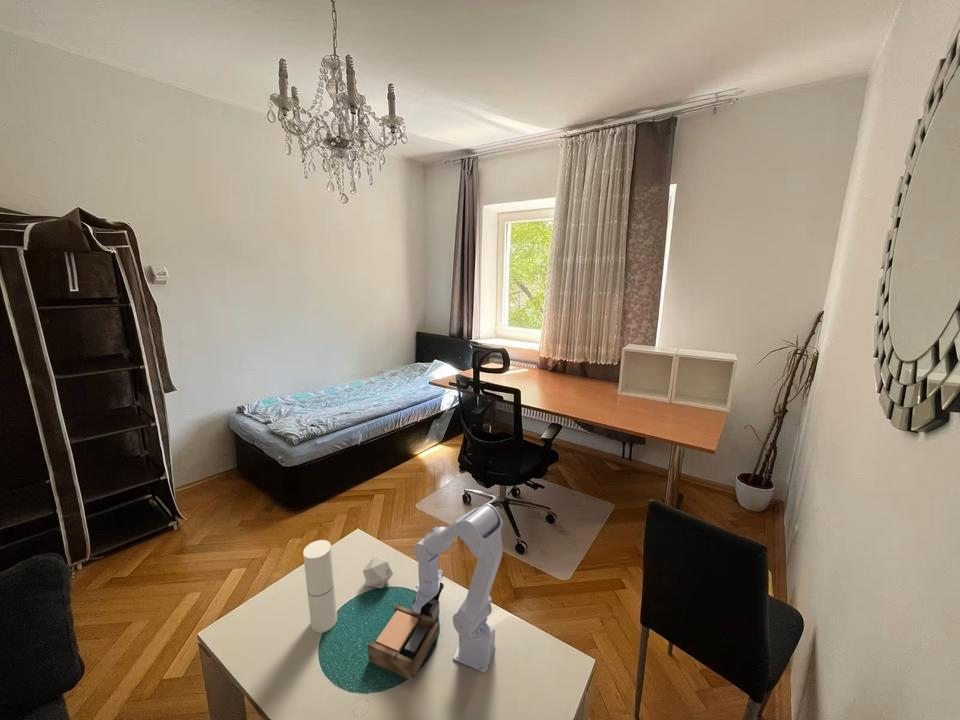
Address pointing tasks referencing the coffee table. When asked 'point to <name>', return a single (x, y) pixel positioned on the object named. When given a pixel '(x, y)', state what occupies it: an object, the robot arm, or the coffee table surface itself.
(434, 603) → the stone
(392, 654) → the frame
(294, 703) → the coffee table surface
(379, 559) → the die
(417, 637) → the trapdoor
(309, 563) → the cylindrical container
